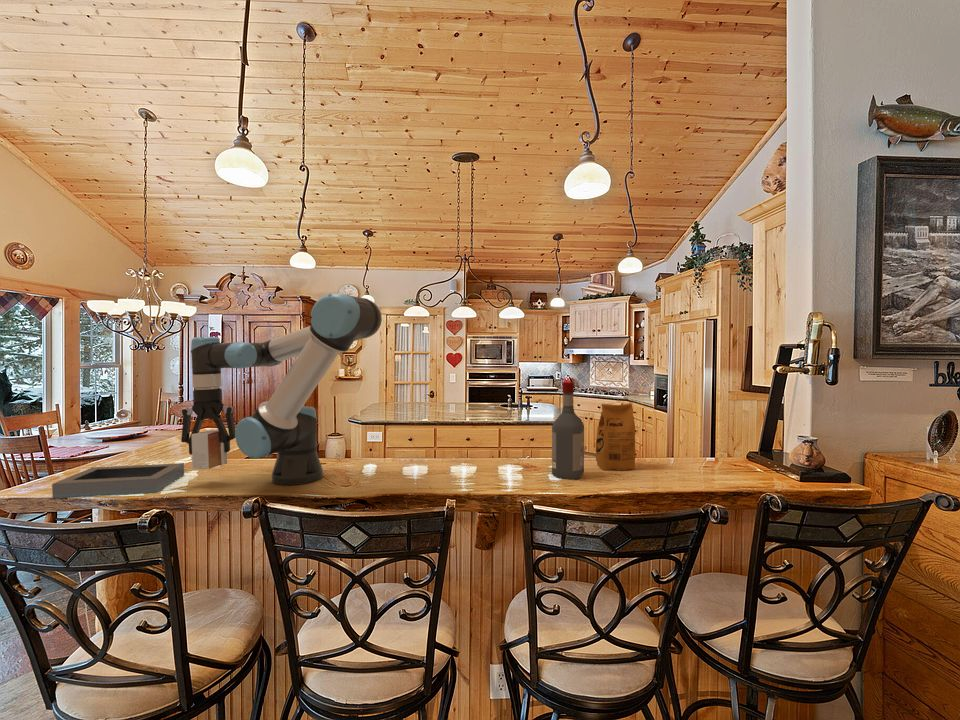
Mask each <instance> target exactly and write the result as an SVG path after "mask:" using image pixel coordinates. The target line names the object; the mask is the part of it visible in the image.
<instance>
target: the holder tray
mask: <svg viewBox="0 0 960 720" xmlns="http://www.w3.org/2000/svg"><path fill="white" fill-rule="evenodd" d="M184 476H185V463H184V462H181V463H178V462H177V463H161V464H159V463H158V464H140V465H117V466H116V465H115V466H112V465H111V466H98V467H97V466H95V467H94V466H93V467H90V468H88V469H85V470H83V471H81V472H77V473H75V474H73V475H70V476H68V477H66V478H64V479H63V478H62V479H60V480H59V481H55V482H54V483H52V484H51V486H52V487H51V488H52V489H51V490H52V493H51V494H52V495H51V496H52V499H59V498H61V499H62V498H78V497H81V496H83V497H97V496H96V495H101V496H114V495H115V496H116V495H117V496H119V495H131V494H132V495H135V494H152V493H158V492H161V490H163V489H165V488H167V487H168V486H170V485H172V484H173V483H174V482H176V481H178V480H179V479H181V478H182V477H184ZM180 477H181V478H180ZM177 479H178V480H177ZM175 480H176V481H175ZM172 482H173V483H172ZM94 495H95V496H94ZM81 498H82V497H81Z"/></svg>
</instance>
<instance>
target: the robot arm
mask: <svg viewBox="0 0 960 720" xmlns="http://www.w3.org/2000/svg"><path fill="white" fill-rule="evenodd" d="M382 316H383V315H382V312H381V310H380V307H379V306H378V305H377V304H376V303H375V302H374V301H372V300H370V299H368V298H365V297H359V296H354V295H349V294H346V293H340V292H339V293H328V294H326V295H323V296H321V297H320V298H318V300H316V302H315V303H314V304H313V307H312V309H311V312H310V317H311V319H310V323H311V325H309V326H306V327H303V328H300V329H298V330H295V331H291V332H289V333H286V334H283V335H280V336H277V337H275V338H273V339H269V340H266V341H263V342H244V341H241V342H240V341H237V342H236V341H234V342H224V343H221V341H220V338H219V337H217V336H197V337H196V336H195V337H193V338H192V339H191V344H190V345H191V349H190V354H191V356H190V357H191V370H192V372H191V373H192V374H191V375H192V376H191V377H192V388H193V389H194V390H192V401H193V405H192V407H190V408H184V409H181V413H182V417H183V419H182V420H183V421H182V427H181V428H182V429H181V438H180V440H181V443H185V444H187V445H188V453H189V455H190V456H192V436H191V434H196V433H200V430H201V428H202V425H203V422H204V421H206V420H212V421H213V423H214V424H215V426H216V428H217V430H219V432H220V435H221V437H222V439H223V442H221V464H223V465H226V464H225V463H227V464H228V453H229V452H230V451H231V441H232V440H234V439H235V442H236V446H237V447H238V449H239V450H240V451H241V453H242V454H243V455H244V456H247V457H248V458H252V459H258V458H265V457H267V456H270V455H273V454H275V453H277V456H276V459H275V462H274V465H273V469H272V472H271V482H272V483H273V484H276V485H282V486H283V485H284V486H285V485H287V486H293V485H302V484H303V485H305V484H308V483H313V482H315V481H318V480H320V479H322V478H323V476H324V473H323V472H324V468H323V465H322V463H321V460H320V457H319V455H318V450H317V448H318V447H317V446H318V444H317V440H318V439H317V434H318V432H317V425H318V423H317V420H318V418H317V409H316V408H315V407H314V406H307V405H305V404H306V403H307V401H308V399H309V398H310V397H311V396H312V394H313V393H314V390H315V389H316V388H317V387H318V384H319V383H320V382H321V381H322V379H323V378H324V376H325V374H326V373H327V372H328V371H329V369H330V367H331V365H332V364H333V363H334V361H335V359H336V358H337V356H338V355H339V354H340V353H346V352H348V351H349V349H350V348H351V346H352V345H353V343H354V342H355V341H358V340H363V339H368V338H370V337H373V336H374V335H375V334H376V333H378V331H379V330H380V327H381V325H382V320H383V319H382ZM295 357H296V359H295V360H294V362H293V363H292V365H291V366H290V368H289V369H288V371H287V373H286V374H285V375H284V377H283V378H282V380H281V382H280V383H279V385H278V386H277V388H276V389H275V391H274V392H273V394H272V395H271V397H270V399H269V400H267V401H262V402H260V404H259V405H258V406H257V408H256V409H255V411H254V412H253V414H252V415H251V416H247V417H244V418H242V419H241V420H240V421H238V423H237V424H236V426H235V420H234V414H233V413H234V410H235V407H234V406H227V405H225V404H224V403H223V389H222V388H221V387H222V369H237V370H238V369H247V368H255V367H256V368H257V367H258V368H259V367H269V368H270V367H274V366H279V365H280V364H282V363H283V361H287V360H289V359H293V358H295ZM304 405H305V406H304ZM222 411H223V412H224V414H225V417H226V419H225V420H226V424H227V428H226V426H225V424H224V422H223V420H222V419H223V418H222V416H221V413H222ZM193 413H194V414H195V415H196V418H195V419H194V420H195V422H194V425H193V428H192V430H191V422H192V415H193ZM190 432H191V433H190Z"/></svg>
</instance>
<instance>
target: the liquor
mask: <svg viewBox="0 0 960 720" xmlns="http://www.w3.org/2000/svg"><path fill="white" fill-rule="evenodd" d="M574 393H575V383H574V382H572V381H570V382H569V381H565V382H562V409H561V413H560V414H559V416H558V417H557V418H556V419H555V420H554V421H553V423H552V426H551V474H552V476H553V477H554V478H556V479H563V480H571V481H573V480H574V481H575V480H579V479H581V478H582V477H583V475H584V473H585V425H584V423H583V421H582V419H580V418H579V416H578V414H576V413H575V409H574Z"/></svg>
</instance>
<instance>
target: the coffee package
mask: <svg viewBox="0 0 960 720" xmlns="http://www.w3.org/2000/svg"><path fill="white" fill-rule="evenodd" d="M595 461H596V464H597V466H598V467H599V469H601V470H603V471H611V470H617V471H622V472H623V471H630V470H635V468H636V423H635V418H634V407H633V404H632V403H624V404H608V403H601V412H600V417H599V421H598V426H597V430H596V441H595Z"/></svg>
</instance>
